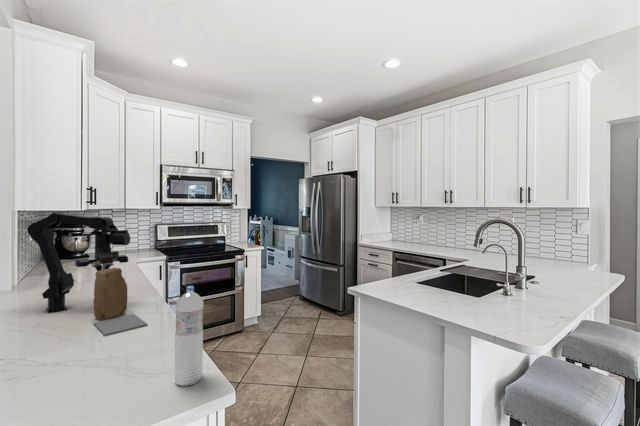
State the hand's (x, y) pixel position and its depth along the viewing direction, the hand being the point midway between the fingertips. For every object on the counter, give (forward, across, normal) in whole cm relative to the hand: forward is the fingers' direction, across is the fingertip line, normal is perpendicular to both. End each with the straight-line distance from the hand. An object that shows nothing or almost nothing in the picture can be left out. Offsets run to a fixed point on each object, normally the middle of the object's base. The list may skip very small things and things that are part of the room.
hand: (102, 279), depth 135 cm
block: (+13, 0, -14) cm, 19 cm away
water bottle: (+13, +1, -83) cm, 84 cm away
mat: (+13, 0, -27) cm, 30 cm away
